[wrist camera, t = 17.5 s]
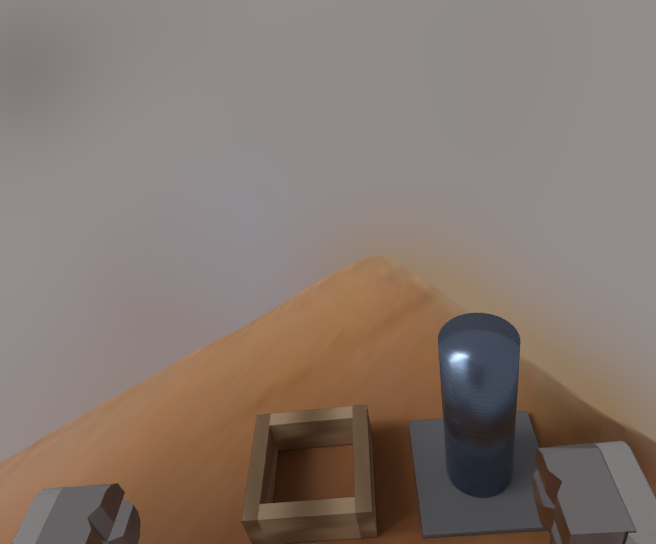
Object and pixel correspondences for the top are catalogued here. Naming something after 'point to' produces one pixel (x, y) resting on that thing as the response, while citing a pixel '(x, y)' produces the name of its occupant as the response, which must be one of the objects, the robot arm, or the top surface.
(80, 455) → the top surface
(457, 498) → the charcoal mat
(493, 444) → the tall blue steel cylinder
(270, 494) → the oak collar
